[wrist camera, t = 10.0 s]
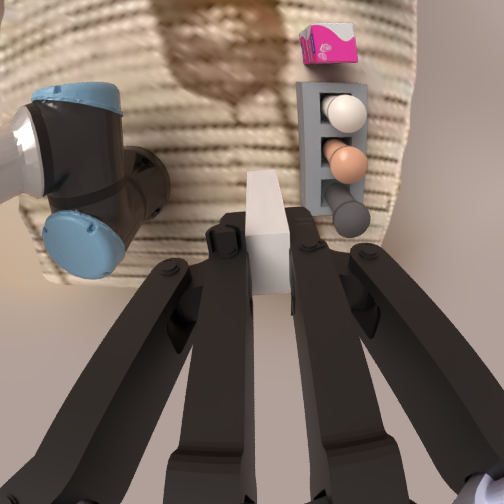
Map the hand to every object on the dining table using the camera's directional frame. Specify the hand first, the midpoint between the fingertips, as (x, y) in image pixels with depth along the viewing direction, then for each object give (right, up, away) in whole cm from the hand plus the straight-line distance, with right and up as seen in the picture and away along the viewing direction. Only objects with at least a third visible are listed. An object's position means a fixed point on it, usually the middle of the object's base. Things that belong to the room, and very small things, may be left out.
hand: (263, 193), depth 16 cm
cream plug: (+12, +20, +25) cm, 34 cm away
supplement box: (+10, +30, +22) cm, 38 cm away
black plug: (+13, +6, +30) cm, 33 cm away
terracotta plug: (+12, +14, +28) cm, 34 cm away
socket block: (+12, +16, +31) cm, 37 cm away
